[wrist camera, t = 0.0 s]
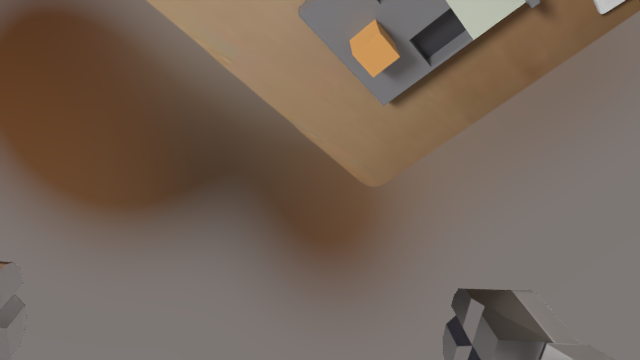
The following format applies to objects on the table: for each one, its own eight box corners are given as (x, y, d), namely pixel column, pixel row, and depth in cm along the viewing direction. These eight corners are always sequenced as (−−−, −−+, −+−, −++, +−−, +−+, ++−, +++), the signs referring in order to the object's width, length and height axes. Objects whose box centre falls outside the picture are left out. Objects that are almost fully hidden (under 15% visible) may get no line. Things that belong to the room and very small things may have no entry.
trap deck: (453, -136, 48) (465, -129, 45) (525, -11, 57) (540, 2, 54) (298, 7, 57) (298, 22, 54) (381, 96, 66) (385, 113, 63)
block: (375, 19, 56) (379, 32, 53) (394, 42, 58) (400, 56, 55) (349, 40, 58) (352, 55, 55) (369, 62, 60) (373, 77, 57)
